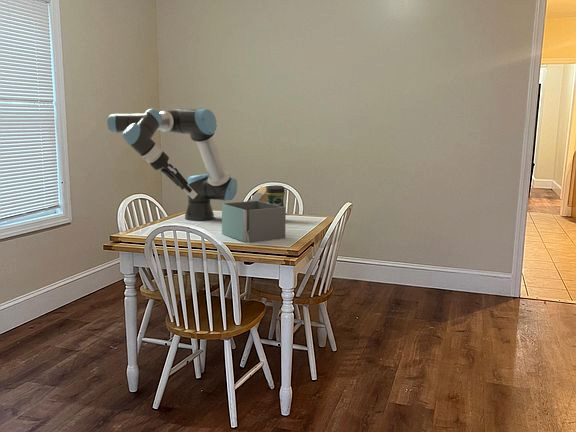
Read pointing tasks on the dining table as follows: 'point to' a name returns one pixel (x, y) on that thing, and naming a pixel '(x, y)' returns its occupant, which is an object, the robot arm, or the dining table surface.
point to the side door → (234, 222)
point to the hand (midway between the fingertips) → (194, 196)
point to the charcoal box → (263, 220)
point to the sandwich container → (260, 195)
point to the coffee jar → (275, 195)
